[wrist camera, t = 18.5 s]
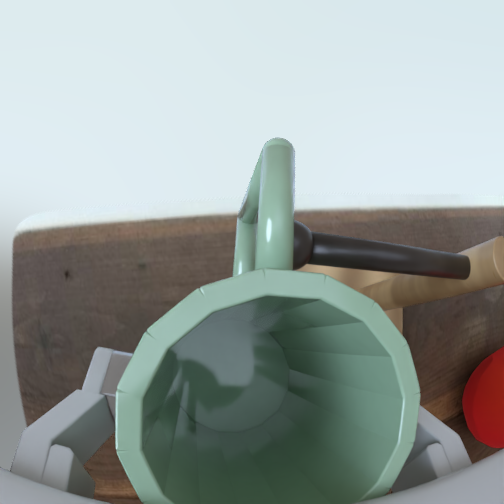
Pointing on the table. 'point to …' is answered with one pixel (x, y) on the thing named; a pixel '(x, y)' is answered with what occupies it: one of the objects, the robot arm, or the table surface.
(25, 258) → the table surface
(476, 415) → the tomato
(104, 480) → the table surface
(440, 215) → the table surface
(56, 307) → the table surface
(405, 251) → the mug stand
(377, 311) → the enamel mug
